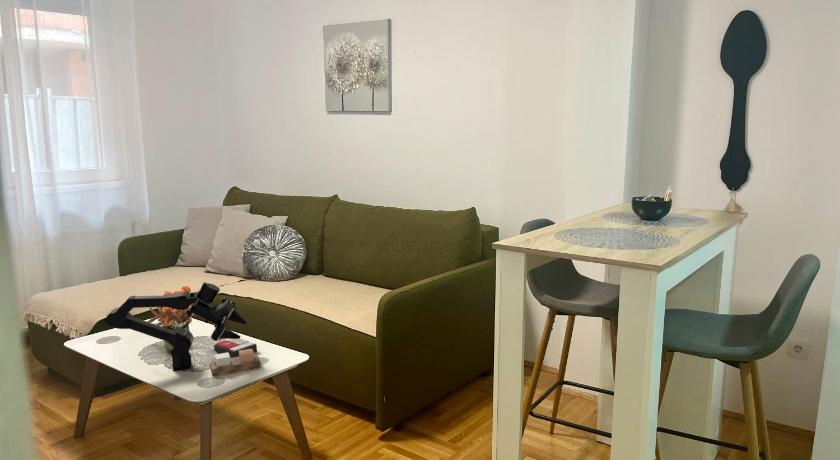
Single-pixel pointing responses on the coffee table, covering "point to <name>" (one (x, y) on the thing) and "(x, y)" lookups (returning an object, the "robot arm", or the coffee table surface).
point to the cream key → (222, 359)
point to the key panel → (235, 366)
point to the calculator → (234, 347)
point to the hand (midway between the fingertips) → (243, 330)
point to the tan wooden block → (246, 355)
